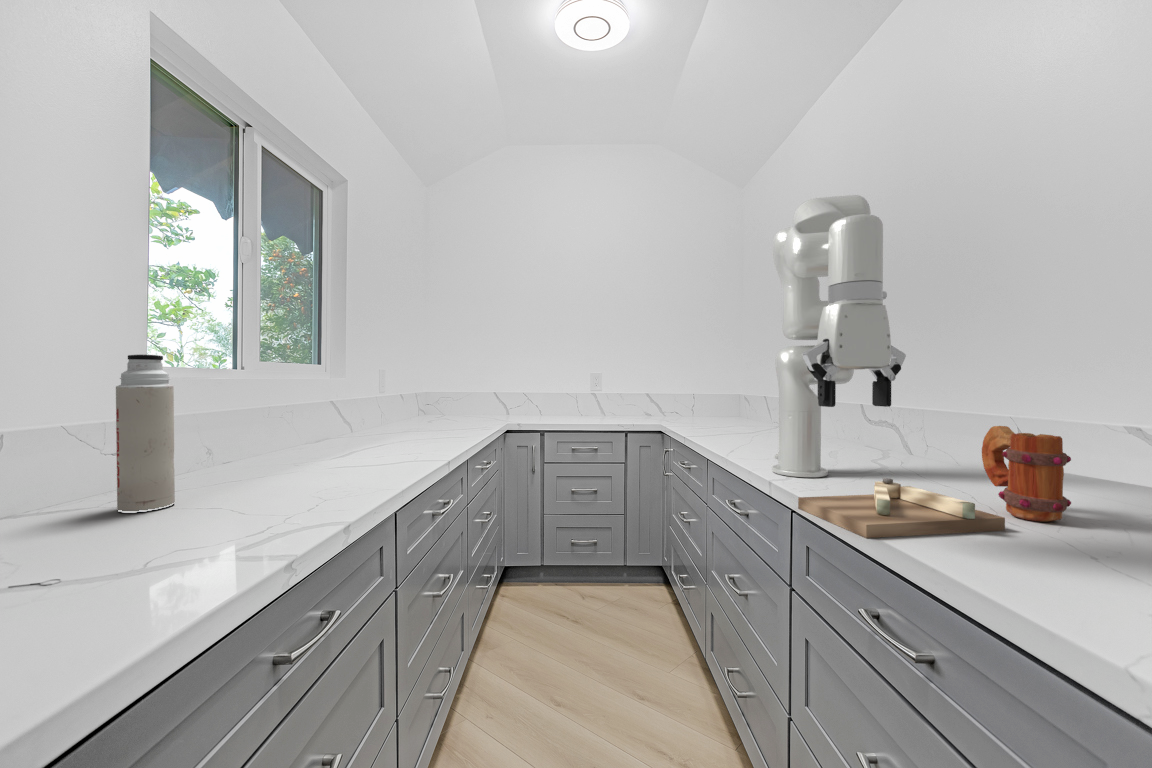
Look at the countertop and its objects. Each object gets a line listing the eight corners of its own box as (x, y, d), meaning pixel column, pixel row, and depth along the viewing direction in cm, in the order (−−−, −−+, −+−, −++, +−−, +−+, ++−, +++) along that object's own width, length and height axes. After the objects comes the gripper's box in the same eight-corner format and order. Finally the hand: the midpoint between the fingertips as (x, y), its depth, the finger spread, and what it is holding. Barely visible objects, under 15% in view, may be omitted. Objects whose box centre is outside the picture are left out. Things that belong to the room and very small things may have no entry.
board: (798, 508, 91) (798, 497, 91) (914, 503, 94) (914, 492, 94) (866, 538, 74) (866, 524, 74) (1004, 530, 78) (1004, 517, 77)
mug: (1086, 527, 79) (1088, 432, 79) (1034, 526, 80) (1035, 432, 79) (1008, 503, 94) (1009, 424, 94) (964, 503, 94) (965, 424, 94)
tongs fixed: (880, 494, 92) (880, 478, 92) (894, 494, 92) (895, 478, 92) (961, 519, 76) (961, 499, 76) (978, 518, 76) (978, 499, 76)
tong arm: (873, 492, 94) (873, 480, 94) (899, 494, 92) (899, 482, 92) (876, 514, 79) (877, 500, 79) (908, 517, 77) (908, 503, 77)
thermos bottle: (109, 516, 86) (107, 353, 85) (127, 505, 93) (125, 355, 93) (167, 510, 89) (165, 354, 89) (180, 500, 96) (178, 355, 96)
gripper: (884, 303, 83) (884, 405, 83) (790, 299, 81) (790, 405, 81) (922, 295, 76) (922, 407, 76) (820, 291, 73) (820, 407, 73)
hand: (854, 406), depth 78 cm, fingers open, 9 cm apart
